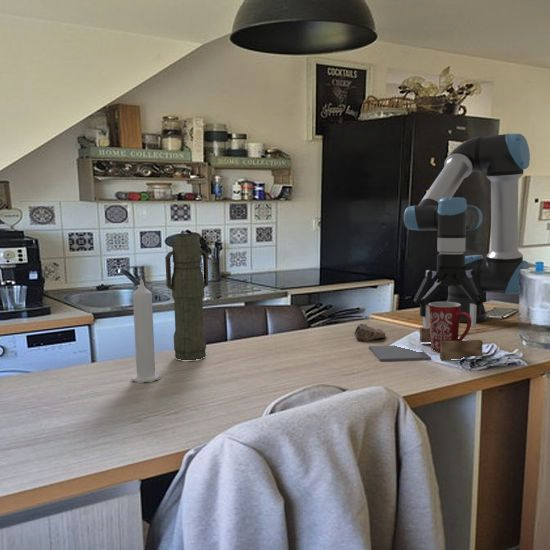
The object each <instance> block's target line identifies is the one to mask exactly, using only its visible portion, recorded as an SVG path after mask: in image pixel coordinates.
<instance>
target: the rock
mask: <svg viewBox="0 0 550 550" xmlns="http://www.w3.org/2000/svg"><path fill="white" fill-rule="evenodd" d="M353 333H354V334H353V335H355V336H354V337H355V338H357V339H359V341H363V342H369V341H371V340H378V339H383V338H386V337H387V336H386V332H385V331H383V330H382V329H381V328H380V329H378V328H374V327H372V326H368V325H367V324H366V323H360V324H358V325H357V327H356V329H355V331H354V332H353Z"/></svg>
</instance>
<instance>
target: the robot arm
mask: <svg viewBox="0 0 550 550" xmlns="http://www.w3.org/2000/svg"><path fill="white" fill-rule="evenodd" d="M530 160H531V153H530V147H529V143H528V141H527V139H526V137H525V136H524V135H523V134H521V133H509V132H508V133H503V134H495V135H486V136H484V135H483V136H476V137H472V138H470V139H467V140H465V141H464V142H462V143H460V144H459V145H458V146H457V147H455V148H454V149H453V150H452V151H451V152H450V153H449V154H448V155H447V157H446V159H445V160H444V164H443V166H444V167H443V169H442V170H440V173H439V174H438V176H437V177H436V178H435V180H434V181H433V182H432V184H431V186H430V187H429V189H428V190H427V192H426V193H425V195H424V196H423V198H422V199H421V201H420V202H418V203H419V204H418V205H410V206H407V207H406V209H405V211H404V212H403V222H404V223H403V224H404V227H405V228H406V229H408V230H411V231H418V232H420V231H437V246H436V247H437V248H436V249H437V250H436V251H437V252H439V253H438V254H437V255H436V270H431V269H426V270H425V272H424V278H423V280H422V282H421V284H420V286H419V288H418V290H417V292H416V294H415V296H414V298H413V299H412V300H413V302H414V303H415V304H419V316H420V317H422V327H424V328H425V329H429V327H430V314H429V305H428V304H429V303H430V301H431V300H432V298H433V297H434V296H435V295H436V294H437V292H438V291H439V290H441V288H443V287H448V289H447V291H448V292H447V293H448V295H447V300H446V302H454V303H459V304H461V306H460V312H466V313H468V314H469V315H470V317H471V327H470V328H473V329H476V328H477V323H481V322H485V321H487V311H486V308H485V305H484V303H486V302H487V298H486V295H485V293H491V294H492V293H493V294H495V293H496V294H506V295H519V294H521V293H520V285H519V278H518V274H519V270H520V269H530V266H529V262H528V261H526V260H524V258H523V257H524V255H523V253H521V252H520V251H519V180H520V178H521V177H522V176H524V170H526V169H528V168H529V166H530ZM476 172H485V177H486V178H487V180H489V181H490V239H491V240H490V243H491V246H490V248H491V249H490V252H488V253H487V254H486V259H485V258H484V256H483V255H482V254H475V255H473V254H471V255H466V254H464V253H465V252H466V241H467V239H466V235H467V234H466V233H467V232H471V231H473V230H477V228H479V227H480V225H482V223H483V219H484V218H483V213H482V211H481V209H480V208H479V207H477V206H475V205H472V204H467V199H466V198H465V197H454V195H455V193H456V191H458V189H459V187H460V186H461V184H462V183H463V181H464V179H466V178H469V176H470V175H471V174H472V173H476ZM434 277H435V278H437V280H436V281H434V284H433V285H432V287H430V289H429V290H428V287H429V285H430V283H431V281H432V280H433V279H434ZM427 290H428V291H427ZM426 291H427V292H426ZM425 293H426V294H425ZM459 323H467V319H466V317H465V316H464V315H462V316H461V317H460V318H459Z"/></svg>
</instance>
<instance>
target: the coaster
mask: <svg viewBox="0 0 550 550" xmlns="http://www.w3.org/2000/svg"><path fill="white" fill-rule="evenodd" d="M368 349H369V351H370V352H371V353H372V354H373V355H374V356H375V358H377V360H378V361H379V362H395V361H396V362H397V361H398V362H399V361H425V360H428V361H429V360H432V357H431V356H430V355H428V354H427V353H426V351H424V350H422V351H423V352H416V351H413V350H410V349H405V348H401V347H397V346H395V345H371V346H370V345H369V346H368Z"/></svg>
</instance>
